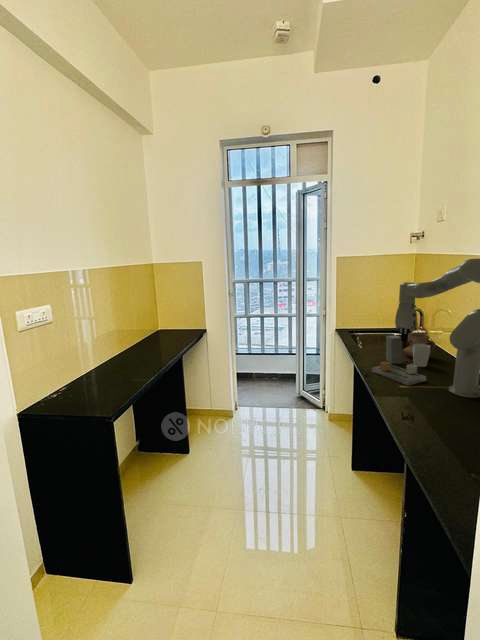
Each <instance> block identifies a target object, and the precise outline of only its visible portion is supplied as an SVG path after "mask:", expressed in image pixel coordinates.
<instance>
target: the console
mask: <svg viewBox="0 0 480 640" xmlns="http://www.w3.org/2000/svg"><path fill="white" fill-rule="evenodd" d="M371 372H372V373H375V374H376V373H377V375H379V374H380V375H379V376H383V377H384V376H385V378H388V379H390V380H394V381H396V382H399V383H400V382H401V384H403V385H406V386H412V385H416V384H419V383H423V382H426V381H427V376H426V375H424V374H420V373H418V372H417V373H414V374H410V373H407V372H406V368H402V367H400V366H397V365H393V364H391V367H390V370H387V371H384V370H381V369H380V365H378V366H373V367H371Z"/></svg>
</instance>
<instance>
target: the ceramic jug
mask: <svg viewBox="0 0 480 640" xmlns="http://www.w3.org/2000/svg"><path fill="white" fill-rule="evenodd" d="M407 342H408V343H409V346H407V347H405V349H402V352H403V353H404V354H405V355H406V356H407V357H410V358H413V344H427V345H429V343H430V344H432V345H431V347H430V355H431V354H432V352H433V351H434V349H435V347H436V343H435V341H434V340H431V339H430V335H429V334H427V333H419V332H410V333H409V334H408V341H407Z"/></svg>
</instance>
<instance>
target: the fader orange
mask: <svg viewBox="0 0 480 640" xmlns="http://www.w3.org/2000/svg"><path fill="white" fill-rule="evenodd" d="M391 365H392V363H390V362H388V361H387V360H385V361H381V362H380V364H379V366H380V369H381V370H384V371H387V370H390V367H391Z"/></svg>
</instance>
